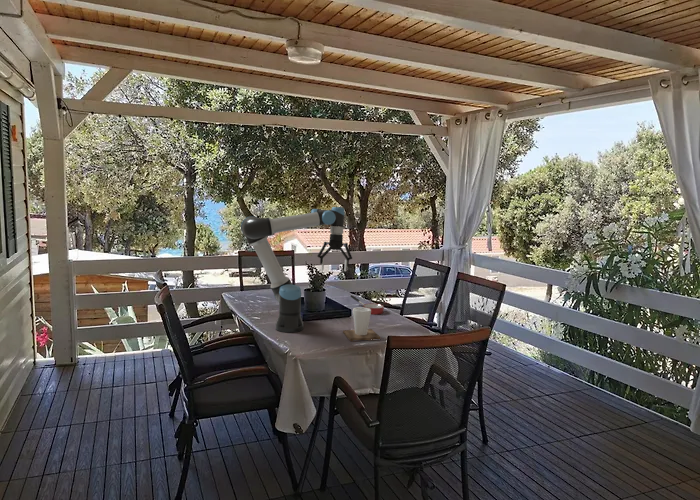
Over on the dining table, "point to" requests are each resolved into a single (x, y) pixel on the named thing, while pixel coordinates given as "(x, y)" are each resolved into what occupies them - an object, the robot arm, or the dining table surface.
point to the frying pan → (371, 307)
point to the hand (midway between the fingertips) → (333, 270)
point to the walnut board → (352, 336)
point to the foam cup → (361, 320)
